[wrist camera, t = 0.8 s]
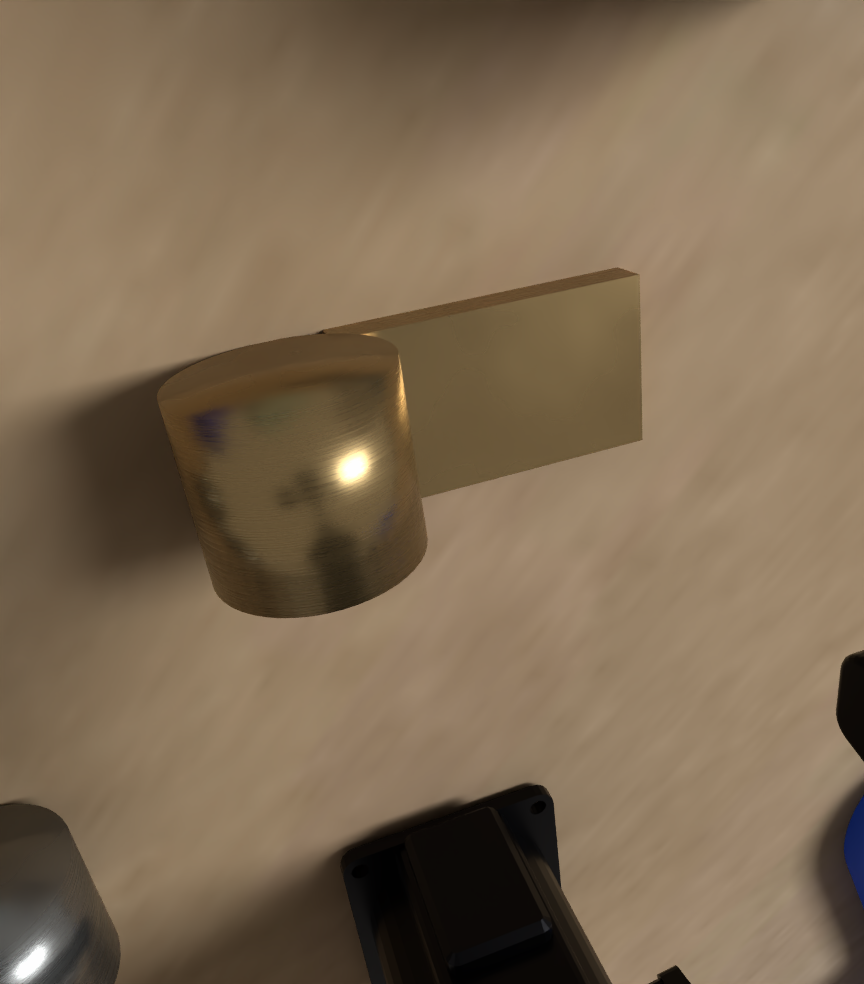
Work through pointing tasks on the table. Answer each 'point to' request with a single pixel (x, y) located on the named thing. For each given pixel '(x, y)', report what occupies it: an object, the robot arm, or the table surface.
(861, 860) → the bracket
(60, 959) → the fixed leaf
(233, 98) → the table surface
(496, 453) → the brass hinge knuckle
